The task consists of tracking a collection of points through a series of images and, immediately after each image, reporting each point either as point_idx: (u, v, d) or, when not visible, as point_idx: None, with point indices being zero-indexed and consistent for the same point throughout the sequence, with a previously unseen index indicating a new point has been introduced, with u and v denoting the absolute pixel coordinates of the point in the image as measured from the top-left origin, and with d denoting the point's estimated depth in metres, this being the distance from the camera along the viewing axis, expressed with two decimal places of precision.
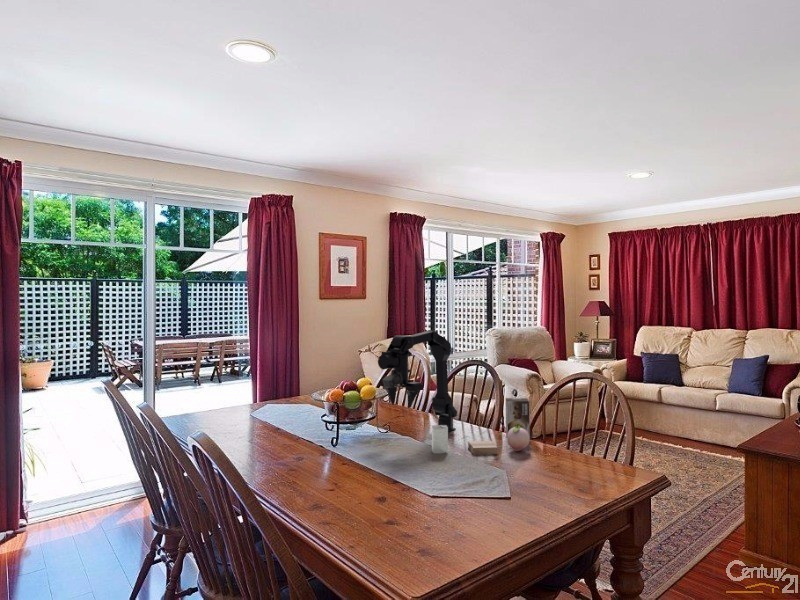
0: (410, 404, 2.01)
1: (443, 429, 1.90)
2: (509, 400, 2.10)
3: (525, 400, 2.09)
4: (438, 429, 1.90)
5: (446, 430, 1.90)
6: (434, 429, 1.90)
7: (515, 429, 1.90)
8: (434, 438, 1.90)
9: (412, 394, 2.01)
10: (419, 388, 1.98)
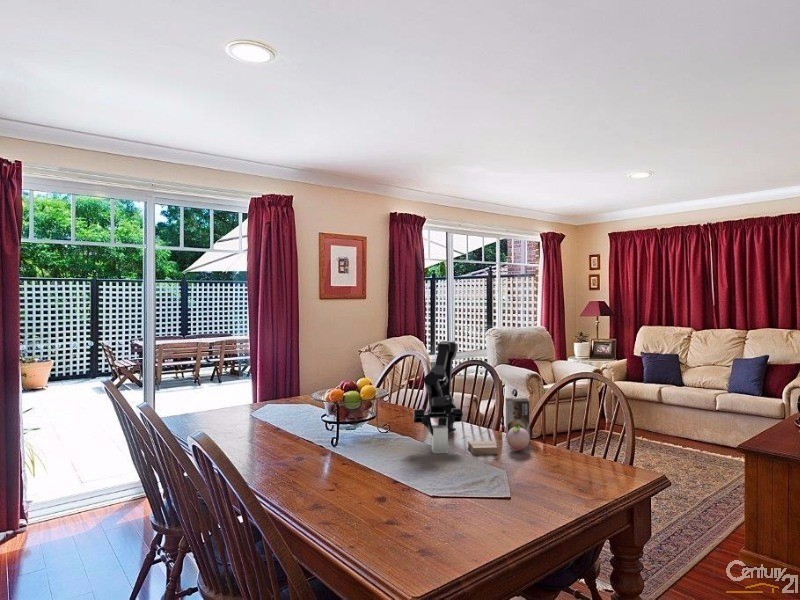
0: None
1: (443, 429, 1.90)
2: (509, 400, 2.10)
3: (525, 400, 2.09)
4: (438, 429, 1.90)
5: (446, 430, 1.90)
6: (434, 429, 1.90)
7: (515, 429, 1.90)
8: (434, 438, 1.90)
9: None
10: None
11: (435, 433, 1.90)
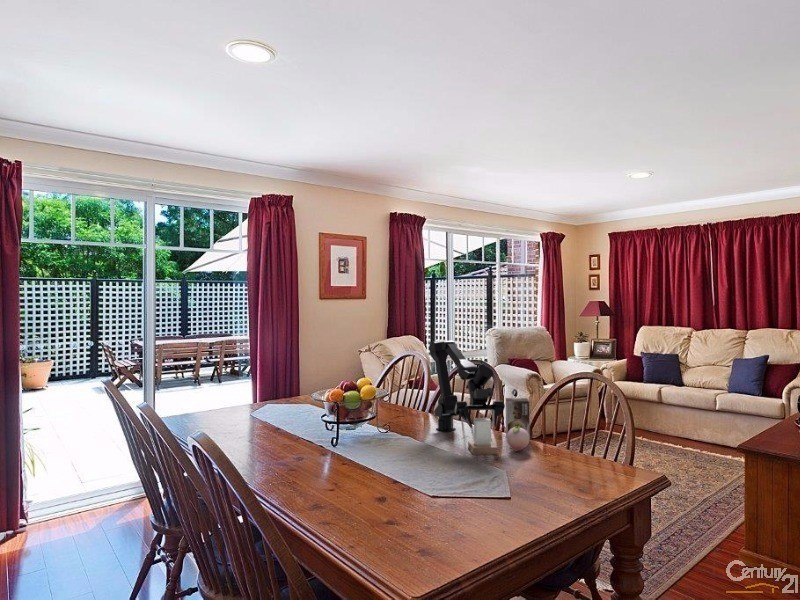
0: None
1: (486, 422, 1.91)
2: (509, 400, 2.10)
3: (525, 400, 2.09)
4: (481, 422, 1.91)
5: (489, 423, 1.91)
6: (477, 422, 1.91)
7: (515, 429, 1.90)
8: (477, 430, 1.91)
9: None
10: None
11: (478, 426, 1.91)
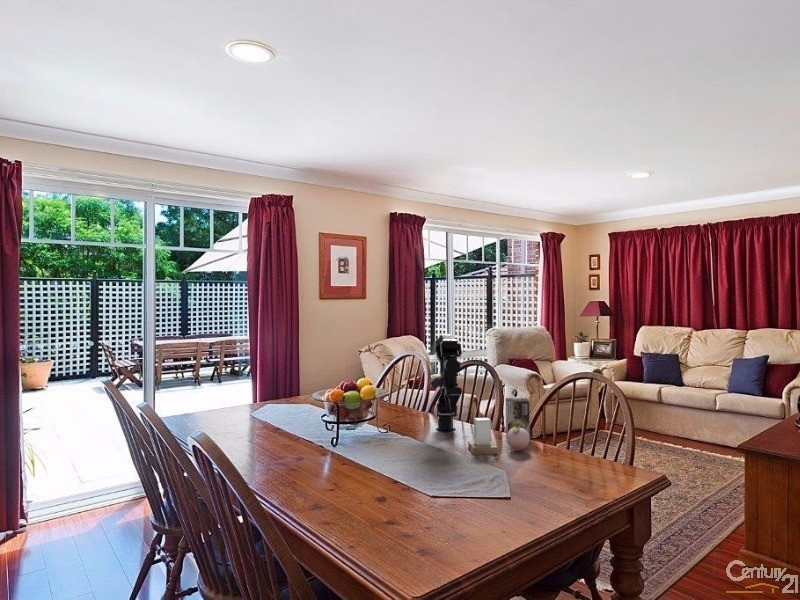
0: (452, 407, 2.03)
1: (486, 422, 1.91)
2: (509, 400, 2.10)
3: (525, 400, 2.09)
4: (481, 422, 1.91)
5: (489, 423, 1.91)
6: (477, 422, 1.91)
7: (515, 429, 1.90)
8: (477, 430, 1.91)
9: (453, 398, 2.02)
10: (456, 392, 1.99)
11: (478, 426, 1.91)
